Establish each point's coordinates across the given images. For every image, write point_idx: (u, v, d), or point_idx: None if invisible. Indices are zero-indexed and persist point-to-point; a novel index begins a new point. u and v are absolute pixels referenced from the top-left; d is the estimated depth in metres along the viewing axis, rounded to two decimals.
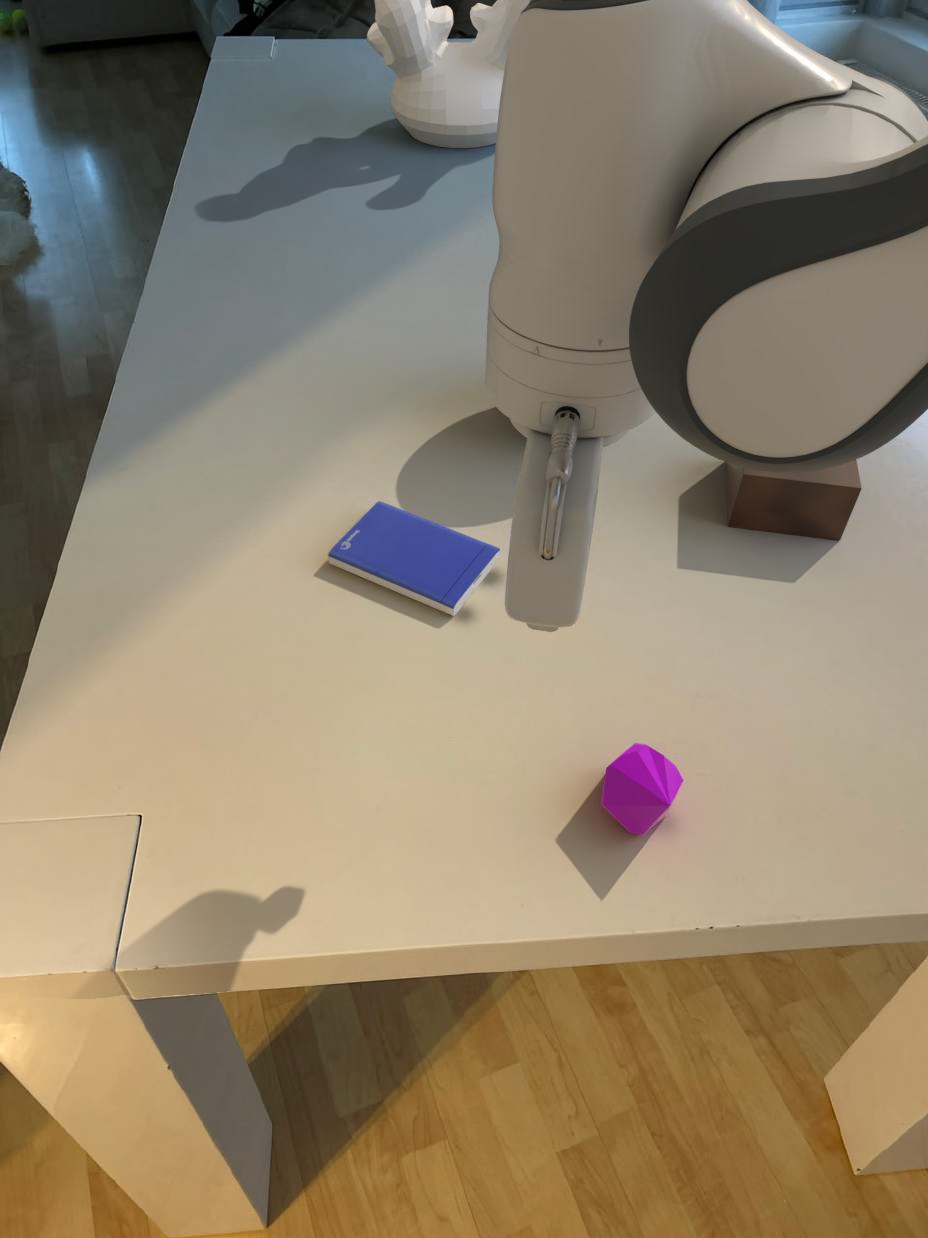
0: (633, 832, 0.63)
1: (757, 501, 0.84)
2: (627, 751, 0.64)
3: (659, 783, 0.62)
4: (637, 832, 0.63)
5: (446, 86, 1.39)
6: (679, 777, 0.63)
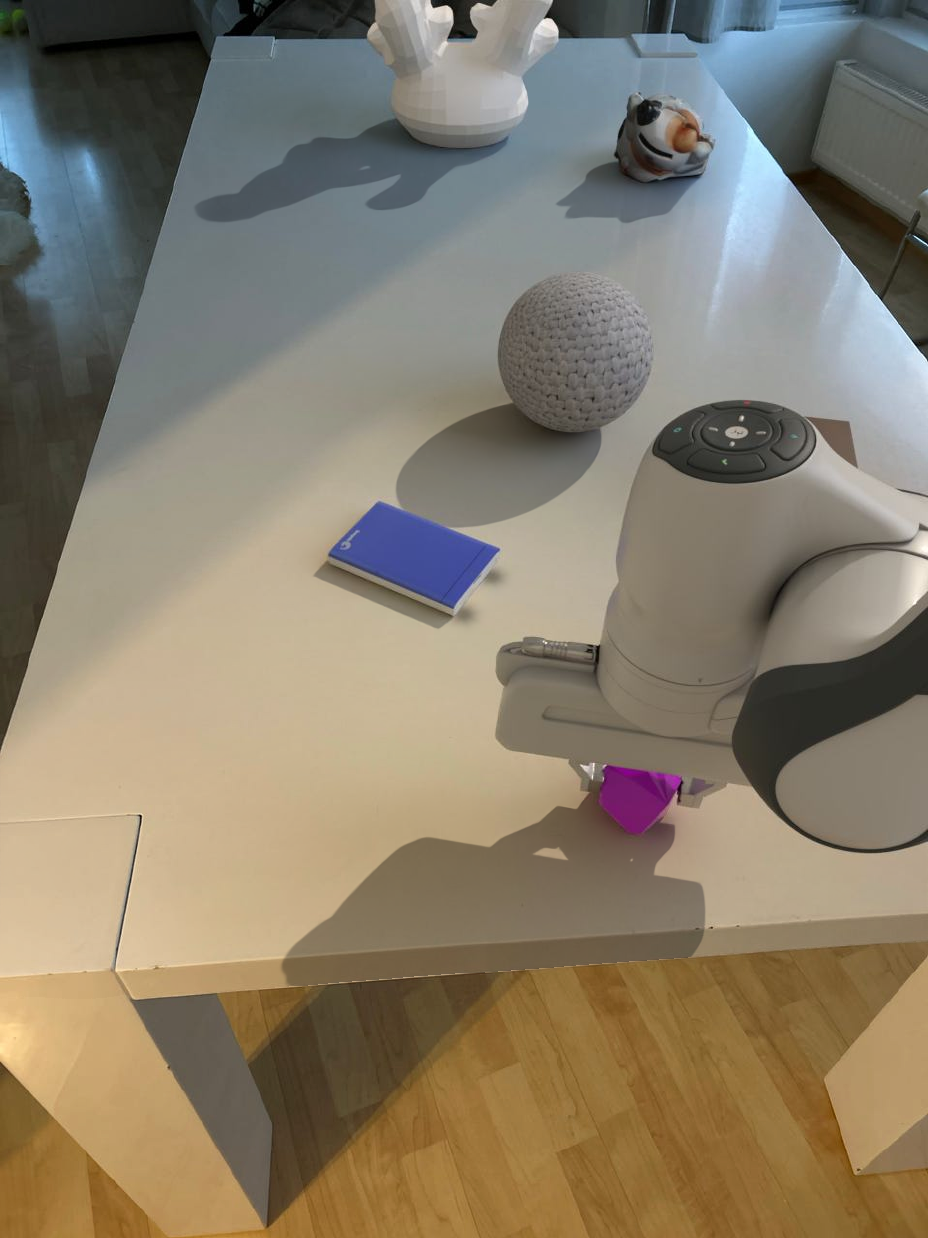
0: (631, 831, 0.63)
1: None
2: None
3: (657, 783, 0.62)
4: (635, 831, 0.63)
5: (446, 86, 1.39)
6: (677, 777, 0.63)
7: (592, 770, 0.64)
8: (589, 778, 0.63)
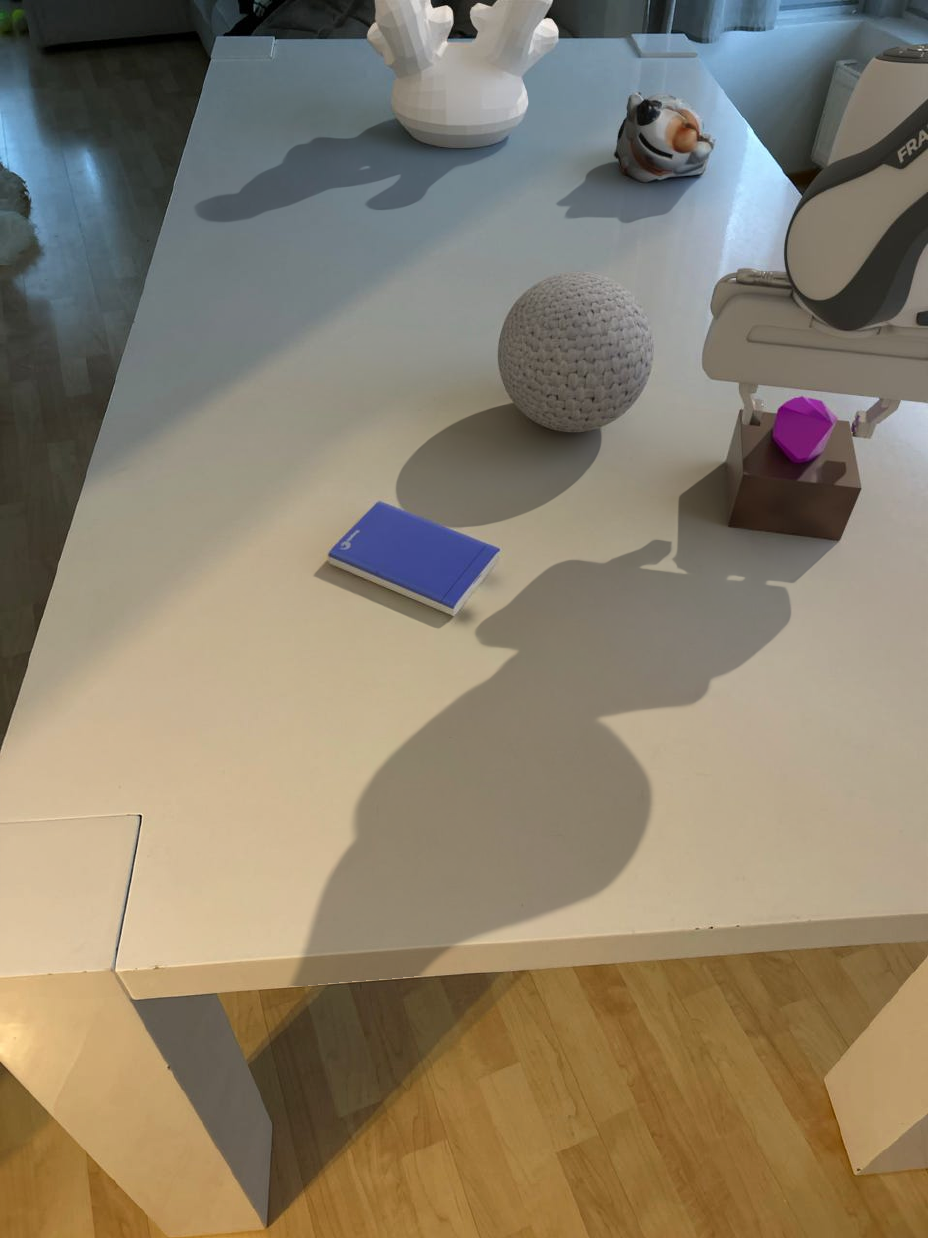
0: (799, 457, 0.82)
1: (757, 501, 0.84)
2: (793, 399, 0.83)
3: (822, 413, 0.81)
4: (802, 456, 0.82)
5: (446, 86, 1.39)
6: (834, 415, 0.82)
7: (754, 405, 0.82)
8: (753, 408, 0.82)
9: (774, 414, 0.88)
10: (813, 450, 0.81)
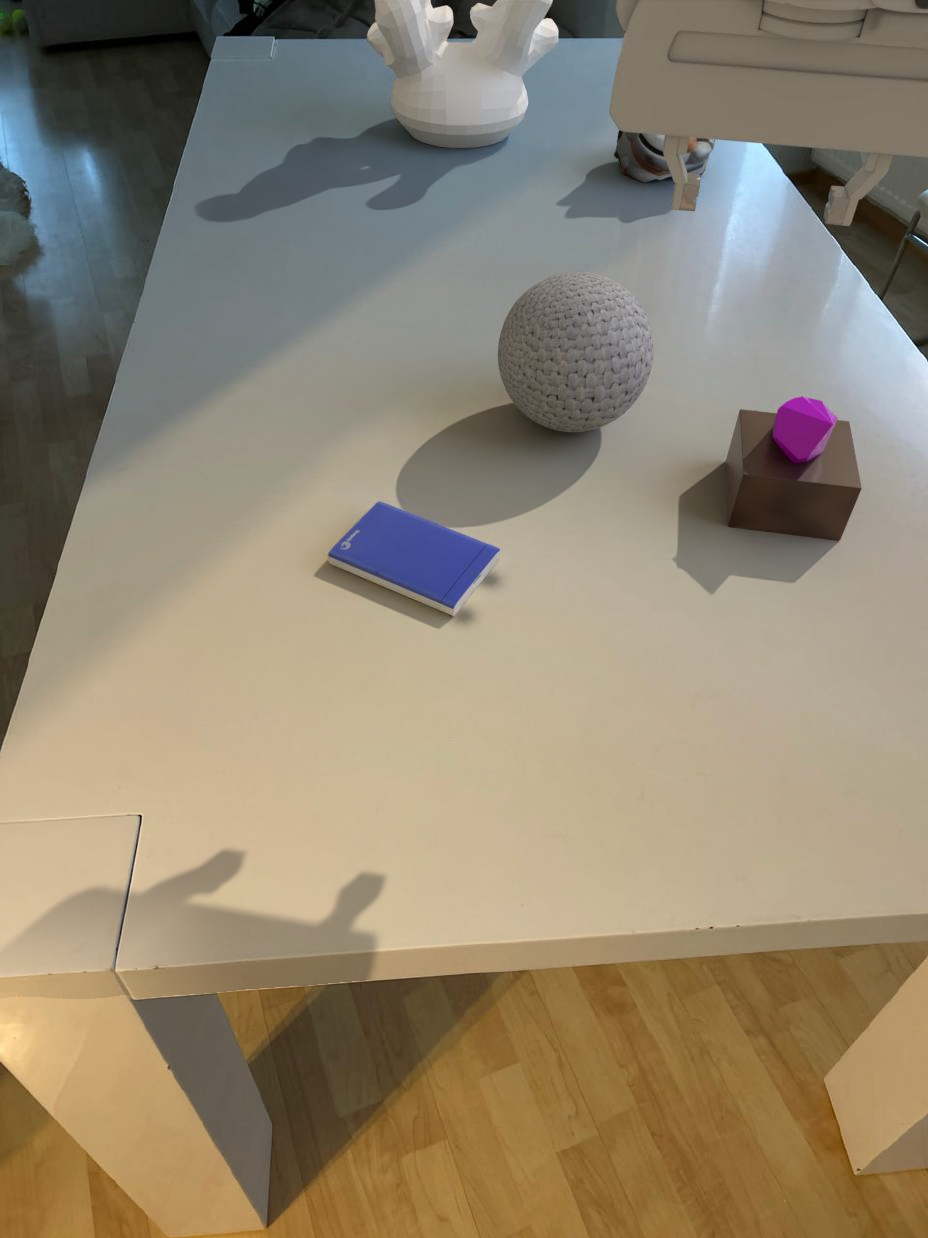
0: (799, 457, 0.82)
1: (757, 501, 0.84)
2: (793, 399, 0.83)
3: (822, 413, 0.81)
4: (802, 456, 0.82)
5: (446, 86, 1.39)
6: (834, 416, 0.82)
7: (686, 178, 0.58)
8: (684, 181, 0.58)
9: (774, 414, 0.88)
10: (813, 450, 0.81)
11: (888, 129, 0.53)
